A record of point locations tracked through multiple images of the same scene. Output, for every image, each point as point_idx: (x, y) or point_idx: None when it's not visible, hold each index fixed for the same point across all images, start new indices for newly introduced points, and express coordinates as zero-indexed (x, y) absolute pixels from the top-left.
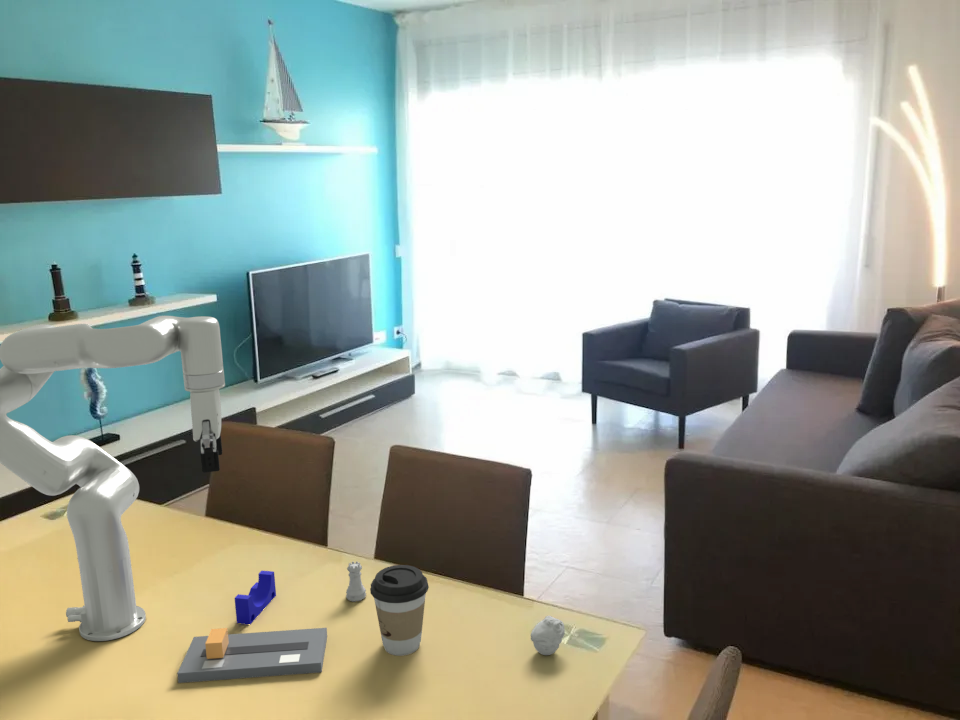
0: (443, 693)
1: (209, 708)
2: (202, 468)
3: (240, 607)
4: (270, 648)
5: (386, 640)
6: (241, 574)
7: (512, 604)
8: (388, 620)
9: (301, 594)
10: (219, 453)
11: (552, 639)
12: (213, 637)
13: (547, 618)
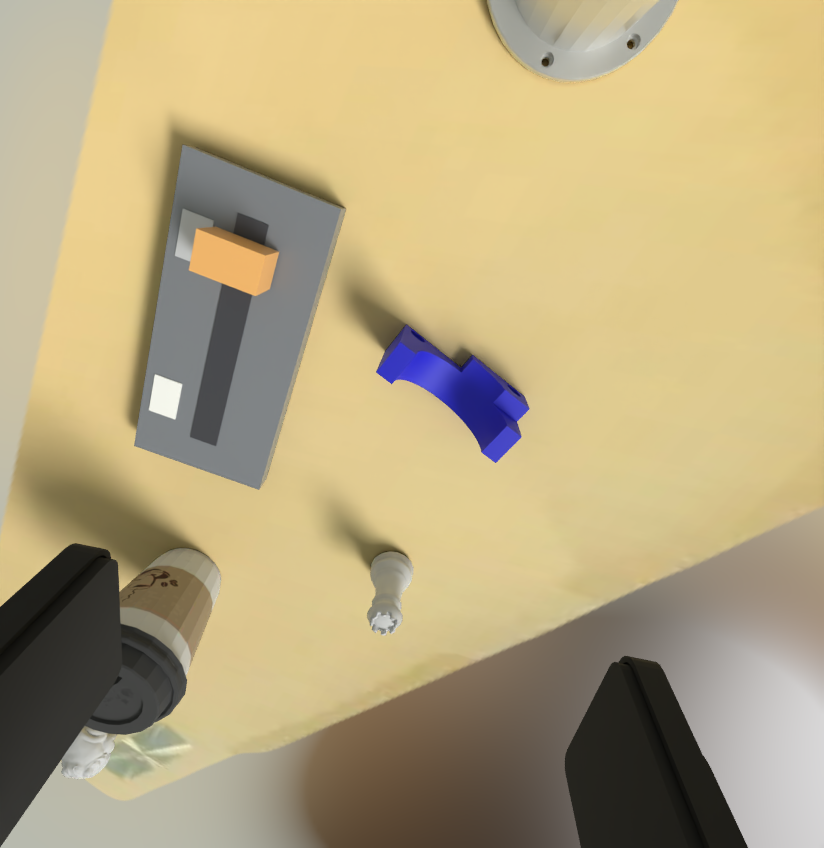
0: None
1: (80, 206)
2: (48, 570)
3: (393, 346)
4: (216, 370)
5: (153, 564)
6: (657, 382)
7: (250, 738)
8: None
9: (463, 481)
10: (574, 760)
11: None
12: (220, 254)
13: (76, 772)
